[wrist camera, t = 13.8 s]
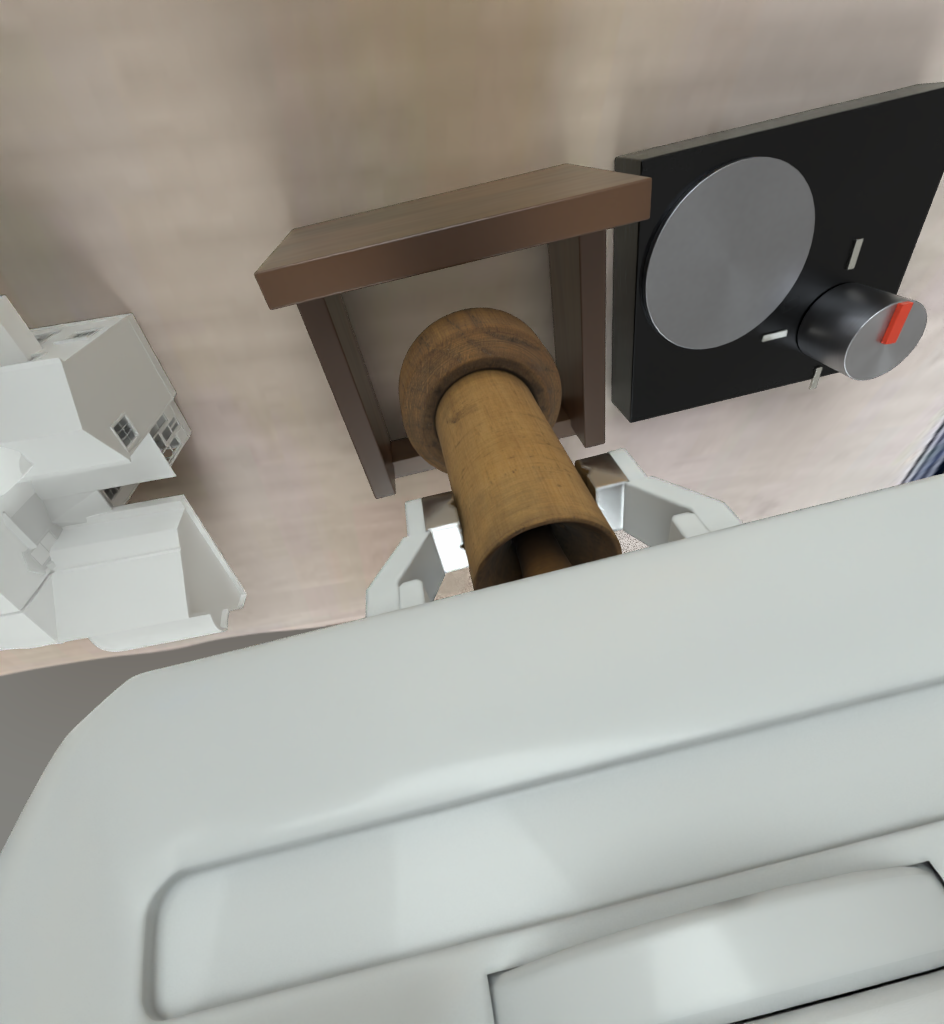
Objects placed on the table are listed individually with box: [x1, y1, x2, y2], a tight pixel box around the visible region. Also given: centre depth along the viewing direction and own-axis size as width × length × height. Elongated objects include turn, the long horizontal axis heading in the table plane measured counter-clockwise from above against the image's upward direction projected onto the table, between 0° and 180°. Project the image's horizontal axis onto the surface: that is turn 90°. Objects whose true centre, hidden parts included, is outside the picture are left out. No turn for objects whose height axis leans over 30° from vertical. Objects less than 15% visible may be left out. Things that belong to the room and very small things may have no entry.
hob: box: [612, 82, 944, 423], centre depth 25 cm, size 16×14×3 cm
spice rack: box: [254, 164, 652, 499], centre depth 23 cm, size 13×13×9 cm
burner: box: [642, 156, 815, 349], centre depth 23 cm, size 8×8×1 cm
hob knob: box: [798, 282, 927, 380], centre depth 25 cm, size 4×4×4 cm
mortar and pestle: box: [399, 308, 622, 591], centre depth 13 cm, size 7×6×18 cm
